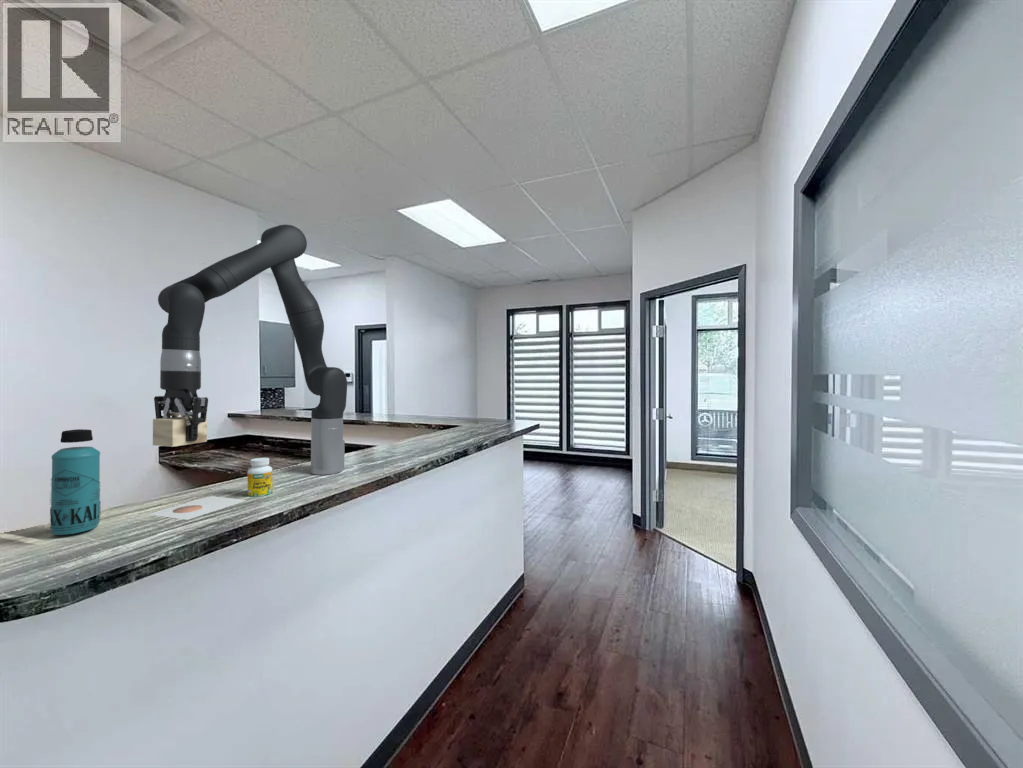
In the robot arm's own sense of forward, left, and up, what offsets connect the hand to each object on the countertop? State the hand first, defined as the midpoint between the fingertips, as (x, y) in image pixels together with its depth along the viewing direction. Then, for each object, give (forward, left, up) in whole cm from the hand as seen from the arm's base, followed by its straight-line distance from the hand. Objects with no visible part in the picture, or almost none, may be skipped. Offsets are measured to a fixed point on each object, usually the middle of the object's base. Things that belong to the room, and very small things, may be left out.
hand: (180, 440), depth 98 cm
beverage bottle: (+21, +3, -15) cm, 26 cm away
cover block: (0, 0, -1) cm, 1 cm away
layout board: (+3, +10, -15) cm, 18 cm away
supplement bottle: (-9, +14, -15) cm, 22 cm away
